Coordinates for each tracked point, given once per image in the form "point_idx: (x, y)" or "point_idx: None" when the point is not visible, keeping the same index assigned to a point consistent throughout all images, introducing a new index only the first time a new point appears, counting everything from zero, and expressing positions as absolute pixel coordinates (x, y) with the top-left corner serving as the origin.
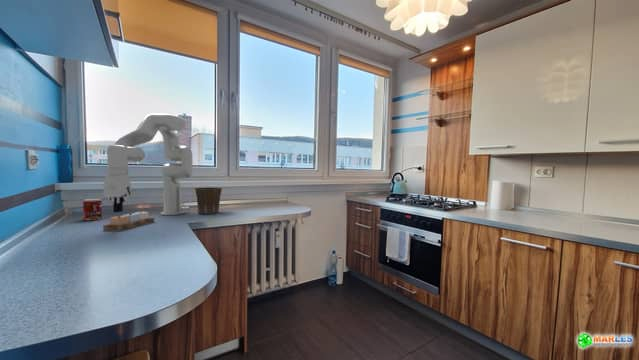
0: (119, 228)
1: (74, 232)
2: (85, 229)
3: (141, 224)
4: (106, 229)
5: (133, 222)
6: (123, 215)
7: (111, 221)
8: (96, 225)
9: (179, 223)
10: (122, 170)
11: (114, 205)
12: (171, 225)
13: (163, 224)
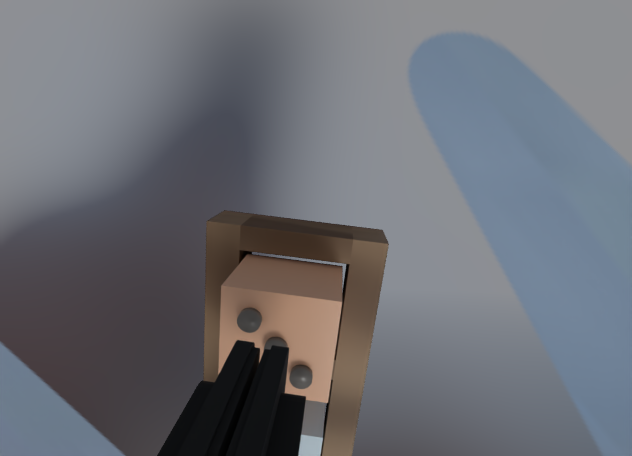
0: (223, 216)
1: (587, 152)
2: (570, 266)
3: None
4: (353, 229)
5: (208, 360)
6: (304, 433)
7: (324, 279)
8: (581, 404)
9: (10, 451)
10: None
11: (245, 430)
12: (11, 395)
13: (90, 425)
